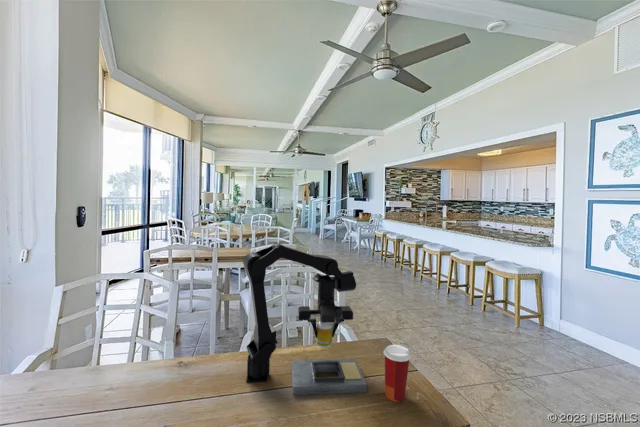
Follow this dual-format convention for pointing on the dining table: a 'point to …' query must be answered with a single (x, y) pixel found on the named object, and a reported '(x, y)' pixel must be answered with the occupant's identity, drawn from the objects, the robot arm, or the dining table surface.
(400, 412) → the dining table surface
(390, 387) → the paper cup
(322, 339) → the supplement bottle
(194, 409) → the dining table surface
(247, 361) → the robot arm
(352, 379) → the grey base block
